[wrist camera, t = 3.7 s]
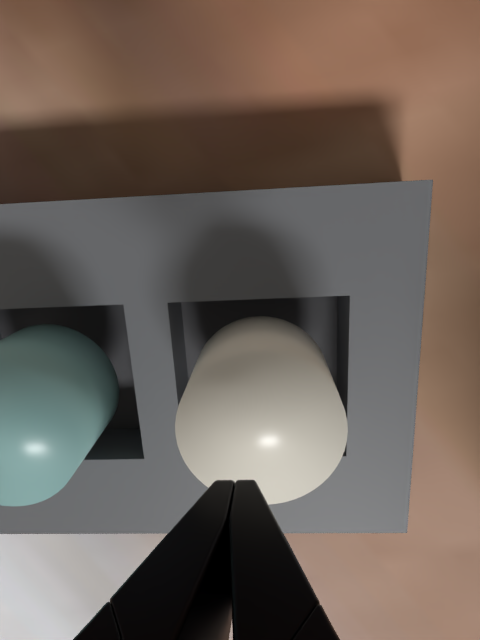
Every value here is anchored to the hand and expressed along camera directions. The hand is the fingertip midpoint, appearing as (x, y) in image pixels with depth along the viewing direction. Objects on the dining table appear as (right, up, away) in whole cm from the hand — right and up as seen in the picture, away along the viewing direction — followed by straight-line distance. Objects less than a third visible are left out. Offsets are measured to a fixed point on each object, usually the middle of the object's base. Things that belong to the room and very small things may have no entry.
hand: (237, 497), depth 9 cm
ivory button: (+1, +2, +5) cm, 5 cm away
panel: (-6, +2, +8) cm, 10 cm away
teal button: (-6, +1, +5) cm, 8 cm away
